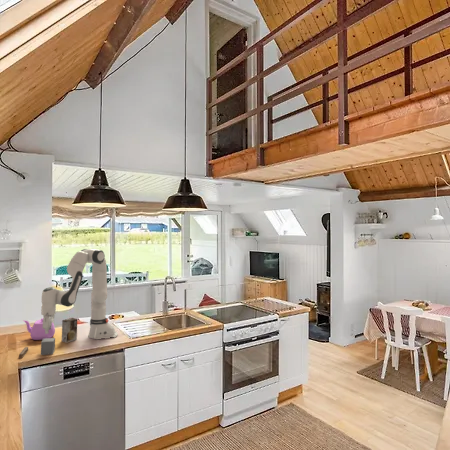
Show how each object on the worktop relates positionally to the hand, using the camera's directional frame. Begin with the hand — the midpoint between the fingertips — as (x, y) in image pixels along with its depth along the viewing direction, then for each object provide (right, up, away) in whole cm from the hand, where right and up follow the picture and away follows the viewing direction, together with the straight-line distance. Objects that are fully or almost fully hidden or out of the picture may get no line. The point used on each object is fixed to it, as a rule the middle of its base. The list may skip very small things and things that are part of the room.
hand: (48, 331), depth 239 cm
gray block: (0, -15, 0) cm, 15 cm away
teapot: (-21, -15, +30) cm, 39 cm away
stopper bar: (-14, -14, -4) cm, 21 cm away
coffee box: (+2, -15, +27) cm, 31 cm away
